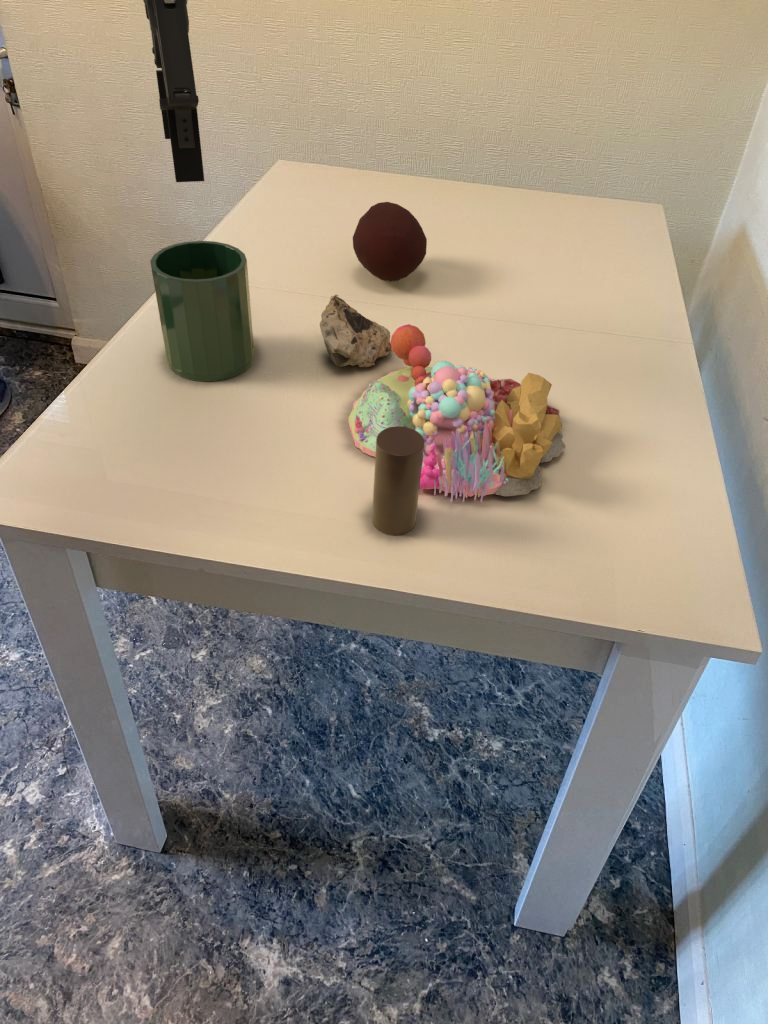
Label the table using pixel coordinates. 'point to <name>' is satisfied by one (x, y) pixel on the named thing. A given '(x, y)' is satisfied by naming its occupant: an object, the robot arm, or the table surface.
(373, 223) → the dark brown round lump
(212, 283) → the tube
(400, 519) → the post
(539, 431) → the candy landscape model
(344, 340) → the rock
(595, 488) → the table surface
